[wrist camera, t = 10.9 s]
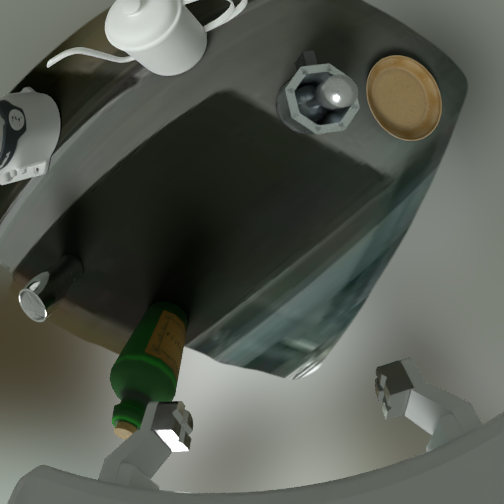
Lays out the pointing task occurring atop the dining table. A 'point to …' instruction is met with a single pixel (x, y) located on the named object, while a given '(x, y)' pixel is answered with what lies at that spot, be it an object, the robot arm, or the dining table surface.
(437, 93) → the plant saucer
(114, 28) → the coffeepot
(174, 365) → the bottle
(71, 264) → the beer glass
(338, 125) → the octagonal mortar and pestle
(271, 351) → the dining table surface
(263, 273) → the dining table surface
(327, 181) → the dining table surface
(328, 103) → the dumbbell
